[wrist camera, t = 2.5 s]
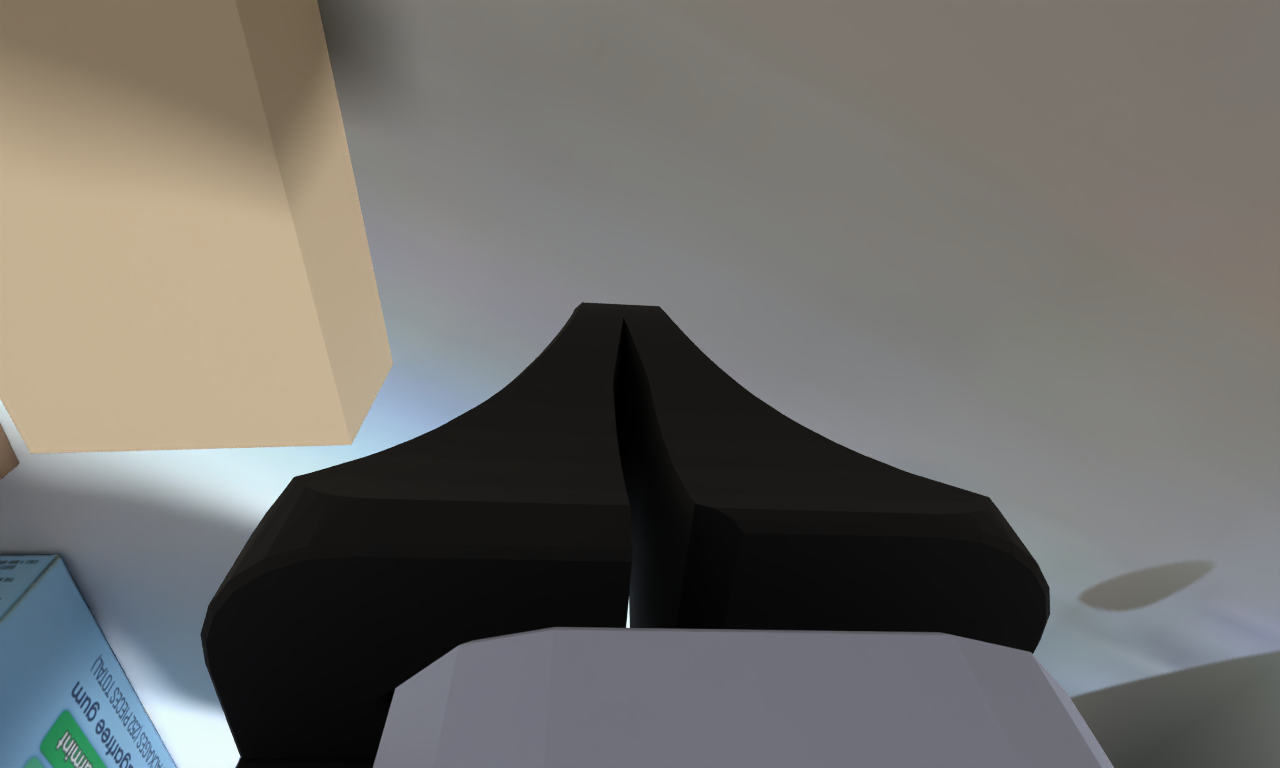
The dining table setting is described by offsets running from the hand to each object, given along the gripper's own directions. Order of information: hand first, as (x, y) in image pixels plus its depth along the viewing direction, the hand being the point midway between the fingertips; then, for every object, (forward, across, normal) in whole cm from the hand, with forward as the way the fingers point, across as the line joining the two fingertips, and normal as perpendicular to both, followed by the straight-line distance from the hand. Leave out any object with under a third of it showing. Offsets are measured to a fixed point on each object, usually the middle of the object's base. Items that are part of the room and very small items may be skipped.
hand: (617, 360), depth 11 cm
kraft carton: (+7, +10, 0) cm, 12 cm away
